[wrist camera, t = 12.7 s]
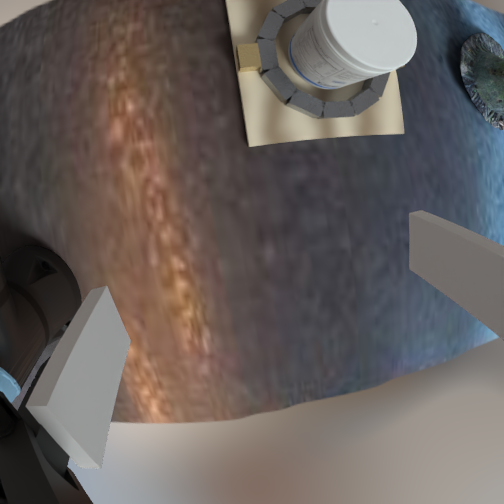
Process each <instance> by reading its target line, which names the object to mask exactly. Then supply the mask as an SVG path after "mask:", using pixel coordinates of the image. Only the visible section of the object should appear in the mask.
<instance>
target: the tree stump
mask: <svg viewBox="0 0 504 504" xmlns="http://www.w3.org/2000/svg"><path fill="white" fill-rule="evenodd" d="M460 55H461V56H460V69H461V75H462V78H463V81H464V85H465V87H466V89H467V91H468V93H469V95H470V97H471V100H472V101H473V103H474V104H475V105H476V107H477V108H478V110H479V111H480V112H481V114H482V115H483V117H484V118H485V120H486V121H488V122H489V123H490V124H491V125H492V126H494V127H495V128H499V129H500V130H503V129H504V51H503V49H502V48H501V46H500V45H499V44H498V43H497V42H496V41H494V40H493V39H492V38H491V37H490V36H489V35H487V34H485V33H476V34H474V35H472V36H470V37H469V38H468V39H467V40H466V41H465V42H464V43H463V46H462V48H461V52H460Z"/></svg>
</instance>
